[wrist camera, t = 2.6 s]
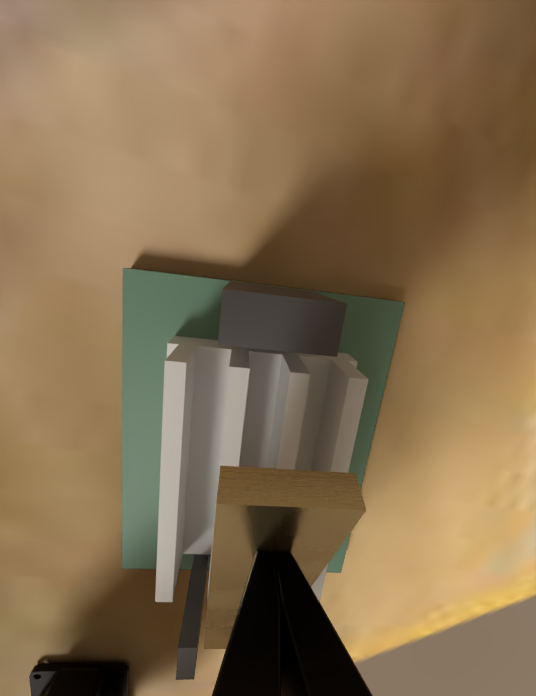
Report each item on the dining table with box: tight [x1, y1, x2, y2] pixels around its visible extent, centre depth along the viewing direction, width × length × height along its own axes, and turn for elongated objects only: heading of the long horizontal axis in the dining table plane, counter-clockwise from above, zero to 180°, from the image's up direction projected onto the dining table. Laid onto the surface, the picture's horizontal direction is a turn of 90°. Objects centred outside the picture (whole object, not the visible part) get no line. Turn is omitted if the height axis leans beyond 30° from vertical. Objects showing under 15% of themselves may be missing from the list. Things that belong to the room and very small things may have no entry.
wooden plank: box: [204, 466, 366, 649], centre depth 10 cm, size 14×3×1 cm, turn 171°
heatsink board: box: [122, 268, 405, 680], centre depth 15 cm, size 18×14×6 cm
